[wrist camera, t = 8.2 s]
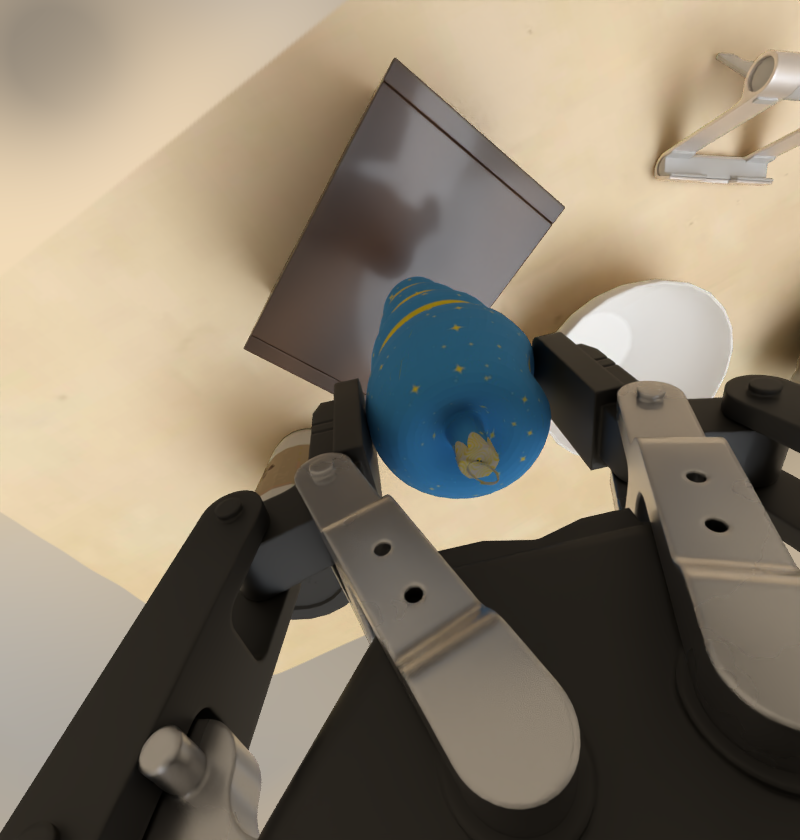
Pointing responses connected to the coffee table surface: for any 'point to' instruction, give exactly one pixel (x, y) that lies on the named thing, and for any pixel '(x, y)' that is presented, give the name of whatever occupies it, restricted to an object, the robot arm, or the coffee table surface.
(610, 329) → the bowl
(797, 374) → the piggy bank
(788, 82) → the tablet stand
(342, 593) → the coffee cup
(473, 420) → the ornament
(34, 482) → the coffee table surface
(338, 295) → the wooden drawer cabinet
